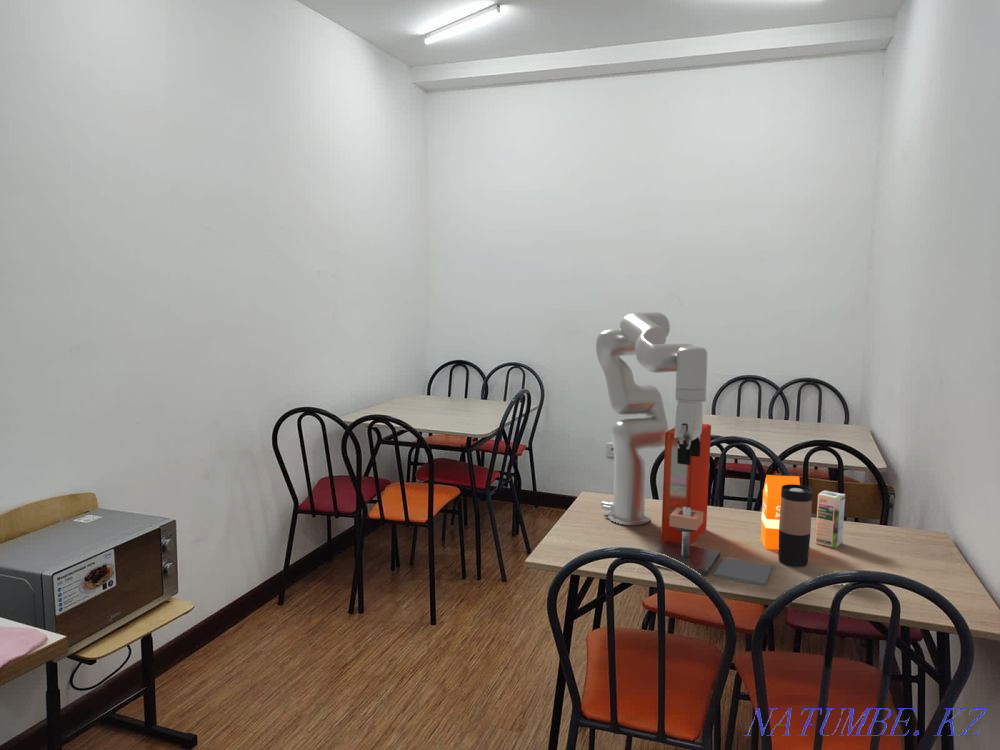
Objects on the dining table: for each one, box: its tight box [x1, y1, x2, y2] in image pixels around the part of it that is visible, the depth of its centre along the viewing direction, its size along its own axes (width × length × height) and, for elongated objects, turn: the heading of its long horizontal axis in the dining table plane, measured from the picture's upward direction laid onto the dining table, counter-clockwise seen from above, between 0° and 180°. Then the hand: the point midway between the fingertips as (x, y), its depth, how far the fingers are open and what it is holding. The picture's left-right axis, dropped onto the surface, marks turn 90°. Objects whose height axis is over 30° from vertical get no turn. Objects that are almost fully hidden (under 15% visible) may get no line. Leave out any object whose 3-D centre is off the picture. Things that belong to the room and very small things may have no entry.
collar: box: [669, 508, 703, 530], centre depth 185 cm, size 7×7×3 cm
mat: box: [713, 557, 774, 587], centre depth 179 cm, size 12×12×1 cm
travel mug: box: [778, 484, 813, 568], centre depth 184 cm, size 8×8×20 cm
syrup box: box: [814, 490, 846, 549], centre depth 198 cm, size 6×6×14 cm
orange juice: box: [760, 474, 801, 551], centre depth 196 cm, size 8×9×20 cm
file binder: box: [660, 423, 712, 546], centre depth 203 cm, size 8×17×32 cm, turn 148°
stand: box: [655, 507, 722, 577], centre depth 186 cm, size 15×15×14 cm
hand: (688, 459), depth 183 cm, fingers open, 9 cm apart
